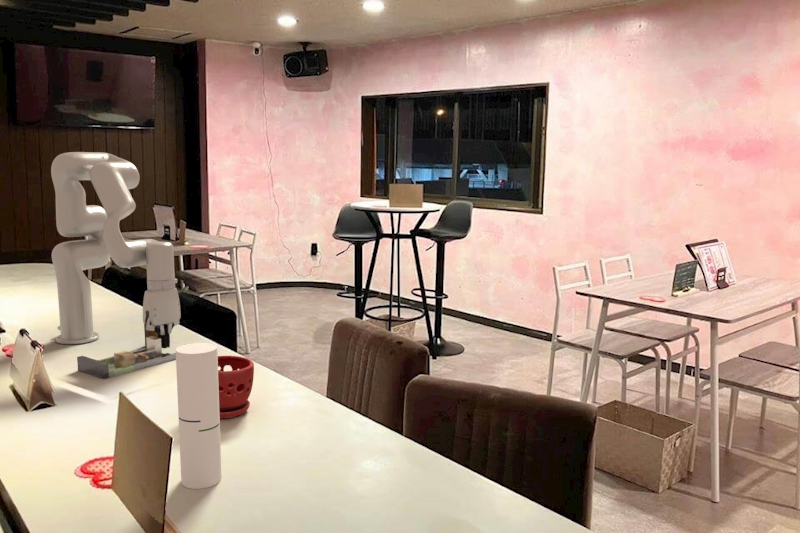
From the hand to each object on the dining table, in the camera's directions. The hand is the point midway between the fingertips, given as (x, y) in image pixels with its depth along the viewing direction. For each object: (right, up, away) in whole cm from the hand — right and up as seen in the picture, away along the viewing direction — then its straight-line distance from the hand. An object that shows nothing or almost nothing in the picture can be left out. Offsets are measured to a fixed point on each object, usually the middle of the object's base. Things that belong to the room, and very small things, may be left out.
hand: (164, 347), depth 205 cm
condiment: (-7, -2, +10) cm, 12 cm away
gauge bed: (-6, -5, -8) cm, 12 cm away
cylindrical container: (+32, -16, -75) cm, 83 cm away
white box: (-3, -3, -6) cm, 7 cm away
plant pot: (+28, -11, -41) cm, 51 cm away
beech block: (-7, -4, -10) cm, 13 cm away
